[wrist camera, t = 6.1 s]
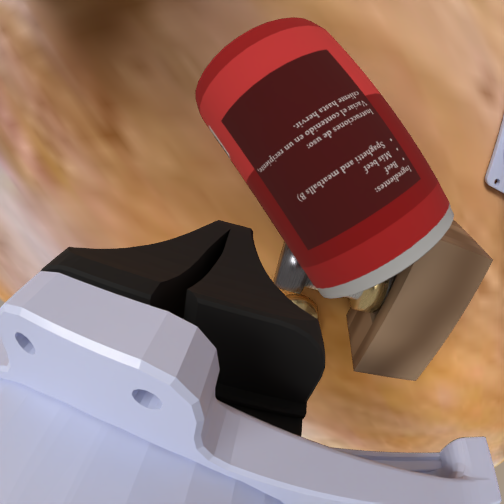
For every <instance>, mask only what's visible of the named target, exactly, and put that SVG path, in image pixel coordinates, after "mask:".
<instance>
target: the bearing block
mask: <svg viewBox="0 0 504 504" xmlns="http://www.w3.org/2000/svg"><path fill="white" fill-rule="evenodd" d="M492 261H493V260H492V258H491V257H490V256H489V255H488V254H487V253H486V252H485V251H484V250H483V249H482V248H481V247H480V246H479V245H478V244H477V242H476V241H475V240H474V239H473V238H472V237H471V236H470V235H469V234H468V233H467V232H466V231H465V230H464V229H463V228H462V227H461V226H460V225H459V224H458V223H457V222H455V221H454V220H453V221H452V224H451V226H450V228H449V229H448V230H447V232H446V233H445V234H444V236H443V237H442V238H441V239H440V241H439V242H438V243H437V244H436V245H435V246H434V247H433V248H432V249H431V250H430V251H428V252H427V253H426V254H425V255H424V256H422V257H421V258H420V259H419V260H418V261H416V262H415V263H413V264H412V265H410V266H409V267H408V268H406V269H405V270H403V271H402V272H400V273H398V274H397V277H396V279H395V281H394V283H393V285H392V287H391V289H390V291H389V293H388V295H387V297H386V299H385V301H384V303H383V305H382V306H380V307H379V308H378V310H377V311H376V312H374V313H367V312H363V311H359V310H355V309H352V308H351V307H350V309H349V311H348V313H347V315H346V316H347V322H348V329H349V336H350V344H351V352H352V360H353V368H354V371H356V372H362V373H368V374H374V375H380V376H386V377H392V378H399V379H406V380H413V381H416V380H417V379H418V377H419V376H420V375H421V373H422V372H423V371H424V369H425V368H426V367H427V365H428V364H429V363H430V361H431V360H432V359H433V357H434V356H435V355H436V353H437V352H438V350H439V349H440V348H441V346H442V345H443V343H444V342H445V340H446V339H447V337H448V336H449V334H450V333H451V331H452V330H453V328H454V327H455V325H456V324H457V322H458V321H459V319H460V317H461V316H462V314H463V313H464V311H465V309H466V308H467V306H468V304H469V303H470V301H471V299H472V298H473V296H474V294H475V292H476V291H477V289H478V287H479V285H480V284H481V282H482V280H483V278H484V276H485V274H486V272H487V271H488V269H489V267H490V265H491V263H492Z"/></svg>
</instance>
